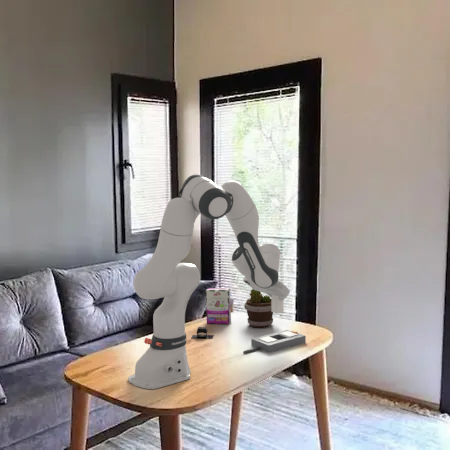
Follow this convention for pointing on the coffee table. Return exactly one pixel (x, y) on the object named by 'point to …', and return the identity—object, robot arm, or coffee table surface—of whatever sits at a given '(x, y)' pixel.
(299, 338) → the power strip
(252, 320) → the flowerpot
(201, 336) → the black boxy piece
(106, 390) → the coffee table surface
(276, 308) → the plug
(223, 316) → the candy bar box
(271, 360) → the coffee table surface
